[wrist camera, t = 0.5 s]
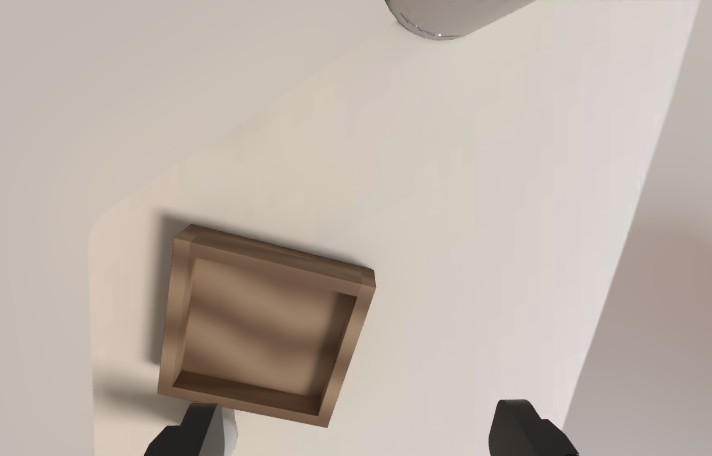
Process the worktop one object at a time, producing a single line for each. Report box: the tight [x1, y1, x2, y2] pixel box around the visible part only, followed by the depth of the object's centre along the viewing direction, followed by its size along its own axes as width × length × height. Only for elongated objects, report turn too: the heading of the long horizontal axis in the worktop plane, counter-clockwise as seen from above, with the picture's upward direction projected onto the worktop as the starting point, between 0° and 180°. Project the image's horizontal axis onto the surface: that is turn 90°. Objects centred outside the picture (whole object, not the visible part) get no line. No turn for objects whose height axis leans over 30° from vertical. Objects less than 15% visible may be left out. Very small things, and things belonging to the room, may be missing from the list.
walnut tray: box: [157, 224, 376, 428], centre depth 32 cm, size 16×16×3 cm
